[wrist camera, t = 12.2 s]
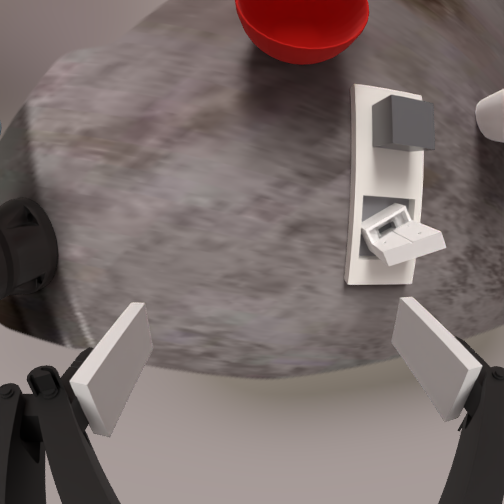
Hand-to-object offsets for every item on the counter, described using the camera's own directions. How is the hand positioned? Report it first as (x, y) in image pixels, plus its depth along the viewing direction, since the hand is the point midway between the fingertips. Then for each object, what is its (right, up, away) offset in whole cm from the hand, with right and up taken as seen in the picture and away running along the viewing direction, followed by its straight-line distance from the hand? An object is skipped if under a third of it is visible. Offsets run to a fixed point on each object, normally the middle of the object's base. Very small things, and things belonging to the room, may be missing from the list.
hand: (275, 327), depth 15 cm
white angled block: (+15, +7, +21) cm, 26 cm away
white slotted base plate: (+15, +12, +20) cm, 27 cm away
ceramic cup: (+6, +31, +15) cm, 35 cm away
